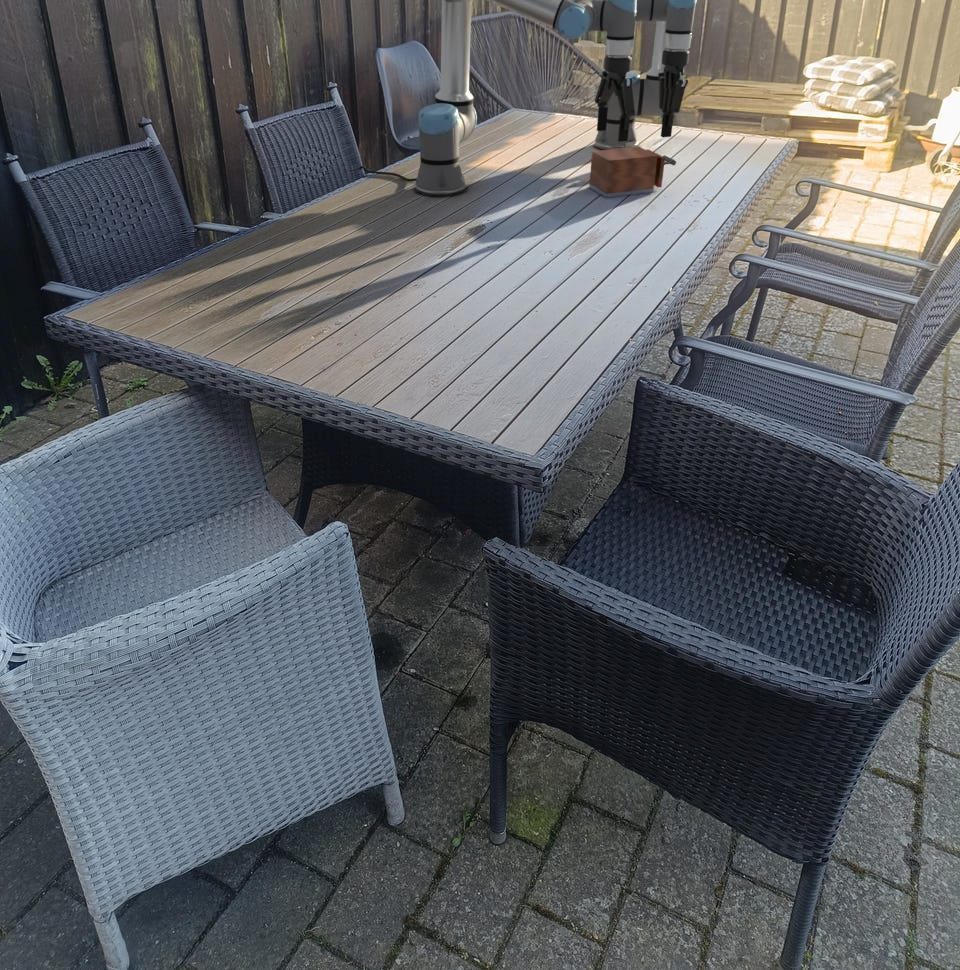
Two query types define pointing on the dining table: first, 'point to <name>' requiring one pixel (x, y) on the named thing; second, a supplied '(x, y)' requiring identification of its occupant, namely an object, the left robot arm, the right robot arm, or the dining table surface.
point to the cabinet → (623, 171)
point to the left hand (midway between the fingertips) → (611, 135)
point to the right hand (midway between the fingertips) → (665, 136)
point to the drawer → (661, 168)
